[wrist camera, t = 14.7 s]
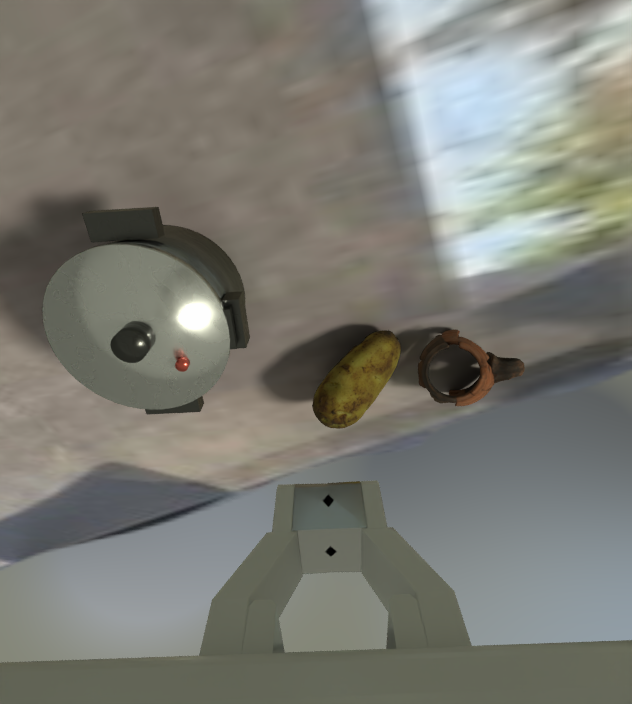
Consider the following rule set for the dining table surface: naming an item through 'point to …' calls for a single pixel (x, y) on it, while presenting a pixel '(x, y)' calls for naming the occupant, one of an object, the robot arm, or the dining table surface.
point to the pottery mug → (489, 364)
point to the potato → (356, 380)
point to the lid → (138, 325)
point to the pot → (184, 245)
